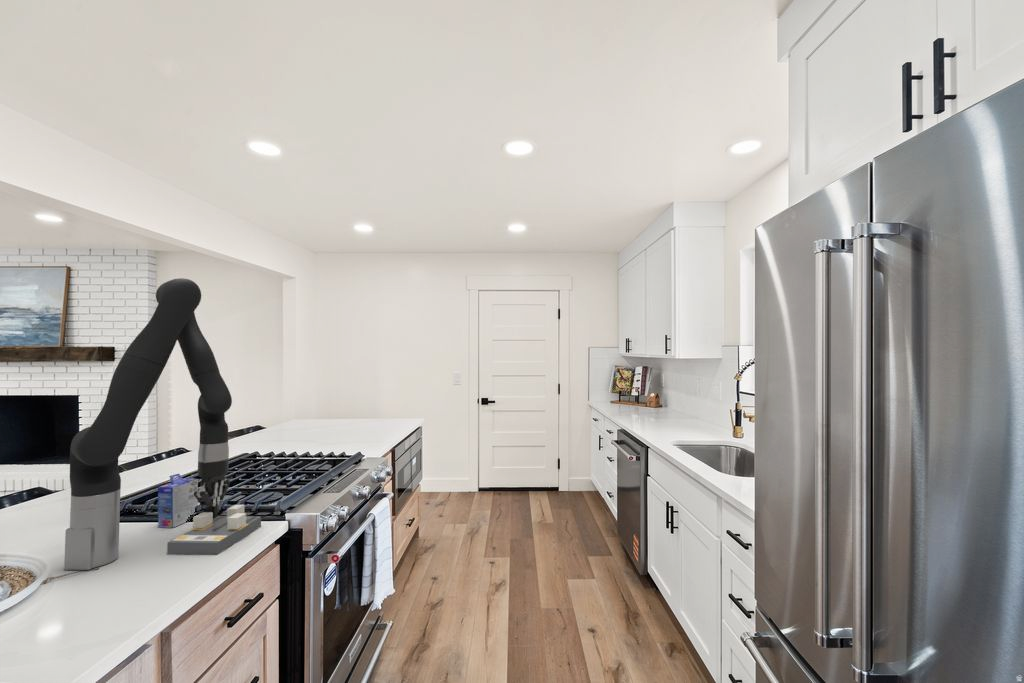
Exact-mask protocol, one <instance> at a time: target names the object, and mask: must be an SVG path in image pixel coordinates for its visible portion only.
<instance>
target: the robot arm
mask: <svg viewBox="0 0 1024 683" xmlns="http://www.w3.org/2000/svg"><path fill="white" fill-rule="evenodd" d="M155 292H156V293H155V299H156V302H157V306H156V308H155V310H154V312H153V315H152V316H151V318H150V319H149V321H148V323H147V324H146V325H145V327H143V329H141V331H140V332H138V334H137V336H136V337H135V338H134V339H133V341H132V342H131V343H130V344H129V345H128V347H127V348H126V349H125V351H124V353H123V355H122V357H121V359H120V360H119V362H118V363H117V366H116V368H115V370H114V372H113V375H112V377H111V381H110V384H109V387H108V391H107V394H106V395H107V396H106V399H105V401H104V404H103V406H102V407H101V409H100V412H99V413H98V414H97V417H96V418H95V419H94V421H93V423H92V424H91V425H90V426H88V427H85V428H83V429H82V430H80V431H79V432H78V433H76V434H75V435H74V436H73V438H72V440H71V444H70V450H69V451H70V452H69V482H70V483H69V484H70V509H69V510H70V512H69V528H67V529H65V537H64V540H65V541H64V542H65V543H64V565H63V566H64V567H63V569H64V571H65V570H69V571H70V570H71V571H74V570H75V571H76V570H79V571H89V570H91V569H94V568H97V567H101V566H104V565H108V564H110V563H112V562H114V561H116V560H117V559H118V558H119V555H120V554H119V552H120V551H119V550H120V549H119V547H120V512H121V487H122V486H121V485H122V479H121V475H120V471H119V457H120V456H121V455H122V453H123V452H124V450H125V448H126V445H127V443H128V440H129V437H130V435H131V431H132V429H133V427H134V424H135V422H136V419H137V417H138V415H139V413H140V411H141V409H142V408H143V407H144V405H145V403H146V401H147V399H148V398H149V396H150V395H151V393H152V391H153V390H154V388H155V385H156V384H157V383H158V380H159V379H160V376H161V375H162V373H163V371H164V369H165V367H166V365H167V363H168V361H169V359H170V358H171V355H172V353H173V350H174V348H175V346H176V344H177V342H178V344H179V347H180V349H181V352H182V355H183V359H184V361H185V364H186V367H187V370H188V372H189V375H190V378H191V380H192V382H193V383H194V384H195V385H196V386H197V387H198V390H199V393H200V395H199V398H198V400H197V413H198V414H197V416H198V421H199V427H200V428H199V446H198V454H197V476H198V477H200V478H201V480H200V483H199V485H200V488H198V491H195V492H194V496H195V497H196V499H197V500H198V504H199V505H200V506H201V507H206V512H213V519H215V518H216V517H217V516H219V515H218V514H219V504H220V503H221V501H223V500H224V499H225V496H226V493H227V491H228V488H229V486H230V484H231V481H230V480H226V475H228V473H229V462H230V461H229V457H230V456H229V453H230V449H229V448H230V447H229V426H228V425H229V424H228V423H227V422H226V419H225V418H226V416H225V414H226V413H227V412H228V411H229V410H230V408H231V406H232V404H233V403H232V402H233V399H232V395H231V391H230V389H229V387H228V386H227V384H226V382H225V380H224V378H223V377H222V375H221V373H220V369H219V366H218V364H217V359H216V358H215V355H214V351H213V350H212V347H211V346H210V345H209V344H210V343H209V342H208V340H207V339H206V337H205V336H204V334H203V333H202V331H201V328H200V326H199V324H198V321H197V319H196V318H197V317H196V314H195V313H196V312H195V311H196V309H197V308H198V306H200V304H201V302H202V301H201V300H202V290H201V288H200V287H199V285H198V284H197V283H196V282H195V281H194V280H191V279H188V278H173V279H171V280H170V279H169V280H168V281H166V282H164V283H161V284H160V285H159V287H157V290H156V291H155Z"/></svg>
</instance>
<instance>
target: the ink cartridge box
mask: <svg viewBox="0 0 1024 683" xmlns="http://www.w3.org/2000/svg"><path fill="white" fill-rule="evenodd" d="M175 477H177V478H176V479H174V478H175ZM169 479H170V482H169V483H166V484H164V485H161V486H158V487H157V515H158V518H157V521H158V522H157V525H158V528H166V529H172V528H175V527H178V526H180V525H182V524H185V523H186V521H187V519H188V517H190V515H192V514H193V513H194V512H195V507H196V506H197V505H198V504H199V502H198V500H197V499H196V497H195V496H194V492H195V491H199V486H198V485H199V482H198V481H199V479H198V478H187V477H186V478H183V477H182V476H181V474H180V473H175V474H172V475H169ZM198 506H199V505H198ZM187 522H188V521H187Z"/></svg>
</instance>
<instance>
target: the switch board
mask: <svg viewBox="0 0 1024 683" xmlns="http://www.w3.org/2000/svg"><path fill="white" fill-rule="evenodd" d="M227 520H228V519H227V515H217V517H216V518H215V519H213V523H211V524H210V525H208V526H206V527H204V528H193V527H192V528H191V529H190V530H188V531H186V532H185V533H183V534H181V535H179V536H177V537H174V538H173V539H171V540H170V541H168V542H167V544H166V546H167V550H166V551H167V552H166V554H167V555H195V556H196V555H197V556H200V555H203V556H204V555H206V556H207V555H208V556H211V555H212V556H213V555H215V556H216V555H219V554H221V553H222V552H224V551H225V550H227V549H228V548H230V547H232V546H233V545H235V544H236V543H238V542H239V541H241V540H242V539H244V538H245V537H247V536H248V535H251V534H252V533H253V532H254V531H257V530H259V528H261V526H262V516H258V515H255V516H253V515H251V516H249V515H246V524H245V525H243V526H242V527H240V528H238V529H227Z"/></svg>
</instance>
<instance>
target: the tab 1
mask: <svg viewBox="0 0 1024 683" xmlns="http://www.w3.org/2000/svg"><path fill="white" fill-rule="evenodd" d="M211 523H213V512H207V511H202V512H201V513H198V515H196V516H194V517H193V519H192V529H193V528H204V527H206V526H208V525H210V524H211Z"/></svg>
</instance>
